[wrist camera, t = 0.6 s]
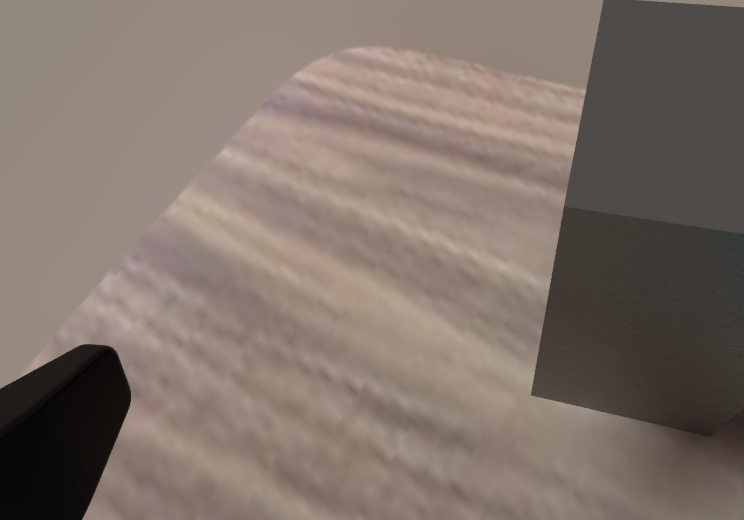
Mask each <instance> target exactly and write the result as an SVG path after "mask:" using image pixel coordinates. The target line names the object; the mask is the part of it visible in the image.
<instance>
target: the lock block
mask: <svg viewBox="0 0 744 520" xmlns="http://www.w3.org/2000/svg"><path fill="white" fill-rule="evenodd" d="M531 395H532V396H537V397H541V398H545V399H550V400H554V401H558V402H563V403H567V404H571V405H576V406H580V407H584V408H589V409H593V410H597V411H602V412H606V413H610V414H615V415H619V416H623V417H628V418H632V419H636V420H641V421H645V422H649V423H654V424H658V425H662V426H667V427H671V428H675V429H680V430H684V431H688V432H693V433H697V434H701V435H706V436H711V435H712V434H714V433H715V432H716V431H717V430H718V429H719V428H721V427H722V426H723V425H724V424H725V423H727V422H728V421H729V420H730V419H731V418H732V417H734V416H735V415H736V414H737V413H738V412H739V411H741V410H742V409H743V408H744V8H742V7H726V6H713V5H698V4H684V3H669V2H668V3H667V2H653V1H638V0H604V1H603V6H602V11H601V17H600V23H599V27H598V32H597V38H596V44H595V48H594V53H593V58H592V64H591V69H590V74H589V79H588V85H587V90H586V95H585V100H584V105H583V111H582V116H581V121H580V126H579V131H578V137H577V142H576V147H575V152H574V157H573V163H572V168H571V173H570V178H569V184H568V189H567V194H566V199H565V204H564V210H563V216H562V221H561V227H560V233H559V238H558V244H557V250H556V255H555V261H554V267H553V272H552V278H551V284H550V289H549V295H548V301H547V307H546V312H545V318H544V324H543V329H542V335H541V341H540V346H539V352H538V358H537V363H536V369H535V375H534V380H533V386H532V392H531Z"/></svg>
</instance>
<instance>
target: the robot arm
mask: <svg viewBox="0 0 744 520" xmlns="http://www.w3.org/2000/svg"><path fill="white" fill-rule="evenodd" d="M130 402H131V390H130V386H129V384H128V381H127V378H126V375H125V373H124V370H123V367H122V364H121V362H120V359H119V356H118V354H117V352H116V351H115V350H114V349H113V348H112V347H110V346H106V345H94V344H84V345H80V346H78V347H76V348H74V349H73V350H71V351H69V352H67V353H65V354H63V355H62V356H60V357H58V358H56V359H54V360H52V361H50V362H49V363H47V364H45V365H43V366H41V367H39V368H38V369H36V370H34V371H32V372H30V373H28V374H27V375H25V376H23V377H21V378H19V379H17V380H16V381H14V382H12V383H10V384H8V385H6V386H5V387H3V388H1V389H0V520H82V519H83V517H84V515H85V513H86V511H87V509H88V506H89V504H90V502H91V500H92V497H93V495H94V493H95V491H96V488H97V486H98V483H99V481H100V478H101V476H102V474H103V471H104V469H105V466H106V464H107V461H108V459H109V456H110V454H111V451H112V449H113V447H114V444H115V442H116V439H117V437H118V434H119V432H120V429H121V427H122V424H123V422H124V420H125V417H126V415H127V412H128V410H129V407H130Z"/></svg>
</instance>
